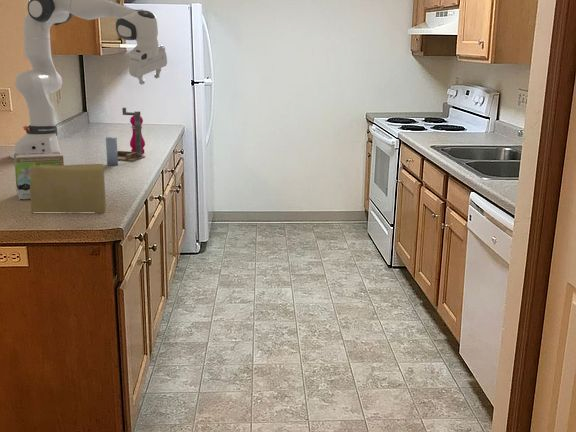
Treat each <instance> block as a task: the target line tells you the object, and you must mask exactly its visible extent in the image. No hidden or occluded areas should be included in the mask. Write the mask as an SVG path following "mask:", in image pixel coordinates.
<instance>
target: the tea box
mask: <svg viewBox="0 0 576 432" xmlns="http://www.w3.org/2000/svg"><path fill="white" fill-rule="evenodd" d="M13 153H14V152H13ZM13 161H14V172H15V173H14V174H15V185H16V195H17V197H18V199H19V200H20V199H23V200H31V199H30V170H31V168H32V167H33V166H61V165H65V164H64V156H63V155H62V152H61V153H60V152H35V153H14V159H13Z"/></svg>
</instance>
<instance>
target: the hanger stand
mask: <svg viewBox="0 0 576 432" xmlns="http://www.w3.org/2000/svg"><path fill="white" fill-rule="evenodd" d="M121 110H122V116H134V117H135V141H136V152H131V151H127V150H126V151H125V150H117V153H118V161H120V160H121V162H122V161H123V162H136V161H140V160H141V159H145V158H146V156H145V155H143V154H142V141H141V133H142V129H141V125H142V124H141V117H142V116H141V111H140V110H139V111H134V112H128V111H127V107H122V109H121Z"/></svg>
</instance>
